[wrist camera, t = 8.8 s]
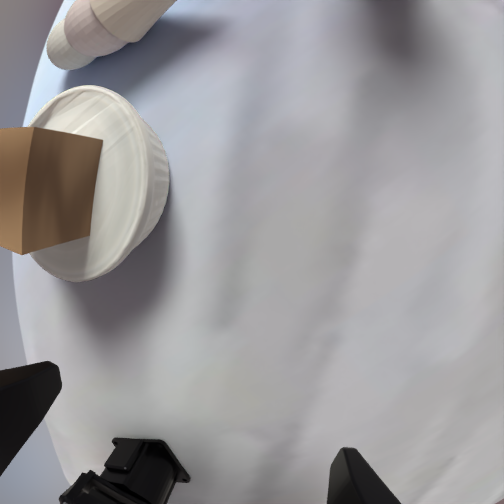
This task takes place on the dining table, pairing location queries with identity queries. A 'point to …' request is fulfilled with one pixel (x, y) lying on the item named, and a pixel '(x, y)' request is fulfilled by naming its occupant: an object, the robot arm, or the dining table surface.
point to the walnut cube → (45, 187)
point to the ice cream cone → (101, 29)
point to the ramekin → (108, 181)
